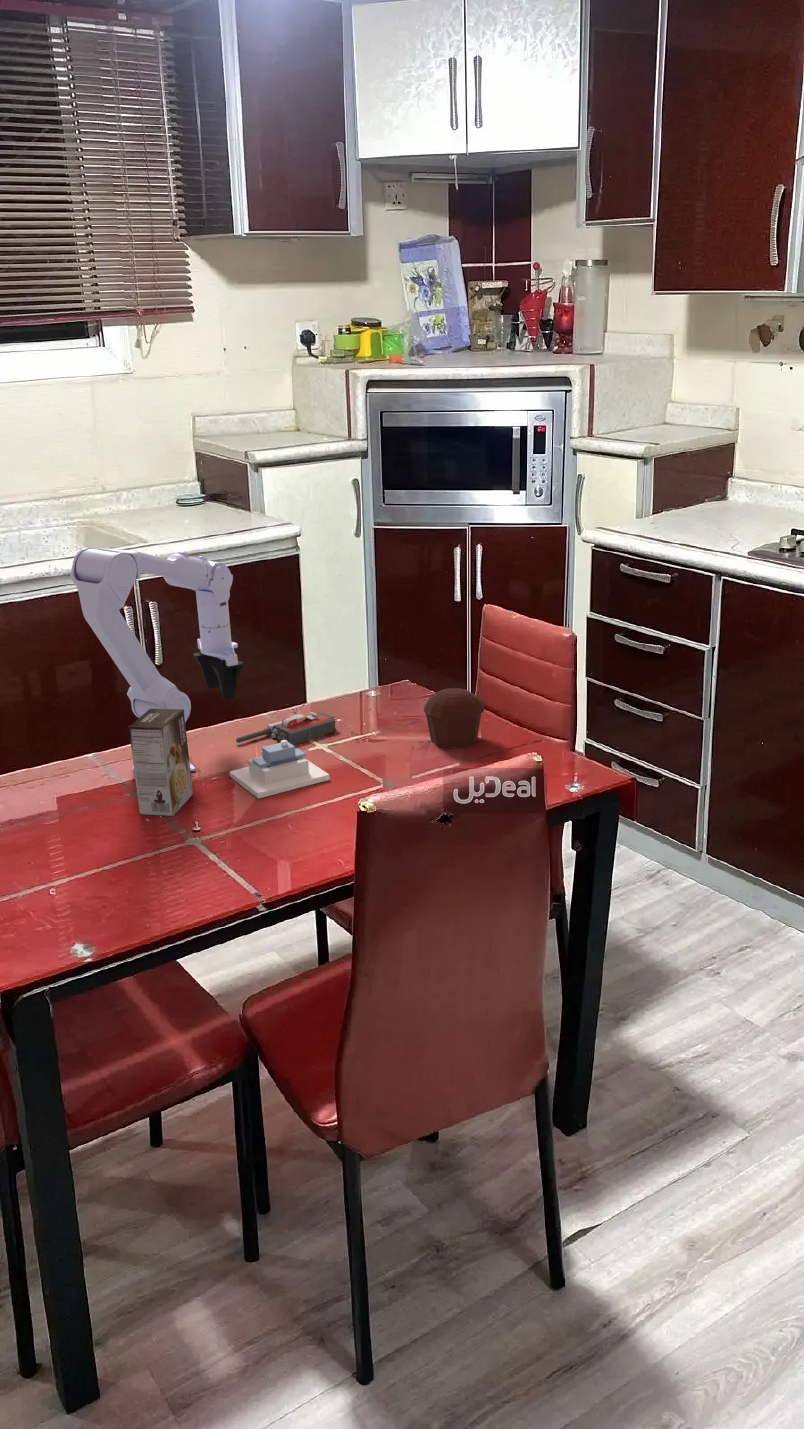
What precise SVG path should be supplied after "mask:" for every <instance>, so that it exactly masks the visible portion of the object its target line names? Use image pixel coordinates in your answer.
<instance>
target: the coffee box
mask: <svg viewBox="0 0 804 1429" xmlns="http://www.w3.org/2000/svg"><path fill="white" fill-rule="evenodd" d="M128 731H129V740H131V741H130V748H132V749H131V756H133V758H132V764H134V770H133V771H134V777H135V786H136V793H137V794H136V795H137V802H138V810H139V814H140V815H151V816H152V815H153V816H169V817H173V816H175V814H177V812H178V811H179V810H180V809H181V808H182V807H183V806H185V804H186V803H187V801H188V800H190V798H191V797H192V796H193V795H194V791H193V784H192V783H193V782H192V771H190V764H191V762H190V755H189V754H190V753H189V746H188V736H187V728H186V724H185V717H184V709H149V710H148V711H147V712H146V713H144V714H143V715H142V716H141V717H140V718H138V717H137V719H136V720H135V721H134V722H132V723H131V724H130V725H128Z"/></svg>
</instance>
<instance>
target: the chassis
mask: <svg viewBox="0 0 804 1429" xmlns="http://www.w3.org/2000/svg"><path fill="white" fill-rule="evenodd" d="M260 757H262V755H261V756H258V757H253V758H250V759H247V760H248V762H247V763H248V766H246V767H242V768H239V769H233V770H230V771H229V778H231V779H233V780H234V781H235V782H236V783H238V784H239V785H240V786H241V787H243V788H244V789H245V790H247V792H249V793H251V794H252V795H253V796H254V797H256V798H257V799H261V798H265V797H269V796H273V795H277V794H281V793H284V792H288V791H292V790H296V789H299V788H303V787H308V786H312V785H314V784H319V783H323V782H326V781H330V780H331V778H330V774H329V773H328V772H326V771H325V770H323V769H322V768H320V767H318V766H317V765H315V764H314V763H313V762H311V761H310V760H309V759H307V758H306V757H303V758H299V759H296V761H293V762H289V763H285V764H281V765H277V766H273V767H269V768H267V767H262V768H259V767H258V766H257V765H255V764H254V763H253V762H252V759H256V758H260Z"/></svg>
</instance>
